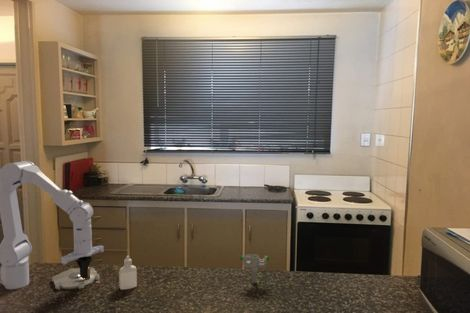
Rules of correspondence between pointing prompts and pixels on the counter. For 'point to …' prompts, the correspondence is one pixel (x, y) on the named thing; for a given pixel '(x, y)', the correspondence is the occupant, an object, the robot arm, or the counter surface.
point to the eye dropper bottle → (128, 275)
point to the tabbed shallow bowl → (74, 279)
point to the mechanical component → (254, 263)
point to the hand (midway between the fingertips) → (84, 277)
